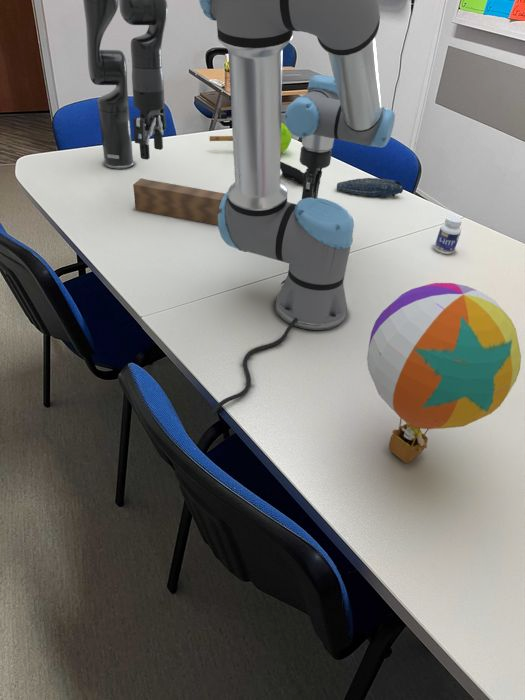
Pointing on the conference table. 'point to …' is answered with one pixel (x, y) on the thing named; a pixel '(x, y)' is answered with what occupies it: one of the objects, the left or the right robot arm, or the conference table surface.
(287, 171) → the handheld gaming console
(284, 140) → the decorative tree
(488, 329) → the toy
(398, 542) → the conference table surface
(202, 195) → the post
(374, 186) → the fish model
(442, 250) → the pill bottle
